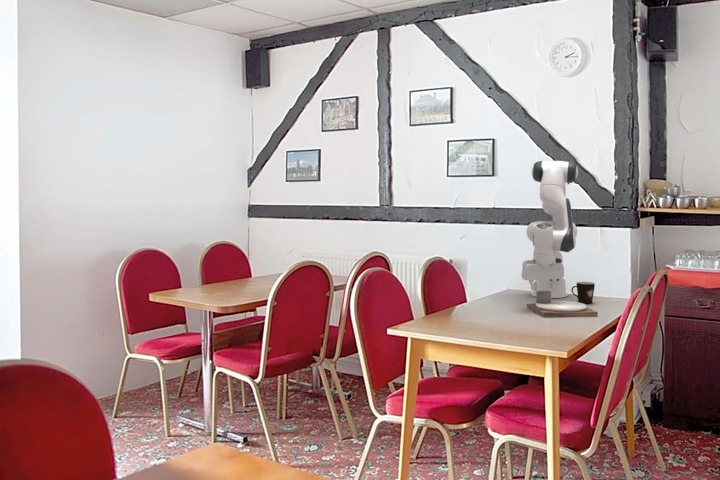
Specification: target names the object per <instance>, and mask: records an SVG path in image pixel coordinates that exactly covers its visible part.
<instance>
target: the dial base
mask: <svg viewBox="0 0 720 480" xmlns="http://www.w3.org/2000/svg"><path fill="white" fill-rule="evenodd" d="M526 309H527V310H530V311H531V312H533V313H536V314H537V315H539V316H540V317H543V318H584V317H585V318H589V317H593V318H594V317H595V318H596V317H598V316H599V314H598V313H599V312H598V311H596V310H593V309H592V308H590V307H587V308H586V309H585V310H582V311H552V310H545V309H540V308H538V307H536V303H532V302H531V303H526Z"/></svg>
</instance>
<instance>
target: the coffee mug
mask: <svg viewBox="0 0 720 480" xmlns="http://www.w3.org/2000/svg"><path fill="white" fill-rule="evenodd" d="M595 285H596V282H592V281H576V285H574V286H572V287H571V293H572V294H573V296H575V297H576V298H577V302H579V303H583V304H585V305H592V304H593V302H594V301H593V300H594V292H595ZM575 288H576V291H577V294H575V292H574V289H575Z"/></svg>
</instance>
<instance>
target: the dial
mask: <svg viewBox="0 0 720 480" xmlns="http://www.w3.org/2000/svg"><path fill="white" fill-rule="evenodd" d="M535 299H536V300H535V304H536V307H538V308H540V309H545V310H552V311H582V310H585V309H586V308H588V306H587V305H588V304H583V303H579V302H578V301H571V300H570V301H569V300H552V298H551V292H550V291H536V297H535Z"/></svg>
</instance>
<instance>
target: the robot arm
mask: <svg viewBox="0 0 720 480" xmlns="http://www.w3.org/2000/svg"><path fill="white" fill-rule="evenodd" d="M531 176H532V179H533V181H535V182H537V183H540V186H539V199H540V201H541V202H542V209H543V210H542V211H544V212H545V214H548V215H550V216H552V220H540V221H538V220H537V221H534V222H530V223H529V224H528V226H527V228H526V236H527V239H528V240H529V241H530V242H532V245H533V246H534V247H533V248H534V249H533V255H532V256H533V257H532V259H525V260H524V261H523V262H522V264H521V265H522V269H521V279H522V280H524V281H528V283H529V285H530V290H529V294H530V295H531V296H532V297H535V298H536V291H550V292H551V299H561V298H565V297H569V294H568V293H567V290H566V279H564V277H565V266H564V259H563V254H562V253H563V252H564V253H569V252H571V251H572V250H574V249H575V247H576V243H577V242H576V239H577V235H578V228H577V226H576V224H575V223H574V221H573V213H572V212H573V211H572V206H571V201H570V199H569V198H567V196H566V195H567V194H566V193H567V192H566V190H567V189H566V188H567V187H566V185H570V184H572V183H574V182H575V181H576V179H577V178H578V176H579V168H578V166H577V163H575V162H573V161H565V160H544V161H543V160H540V161H535V163H534V164H533V166H532V168H531ZM561 252H562V253H561Z"/></svg>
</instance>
